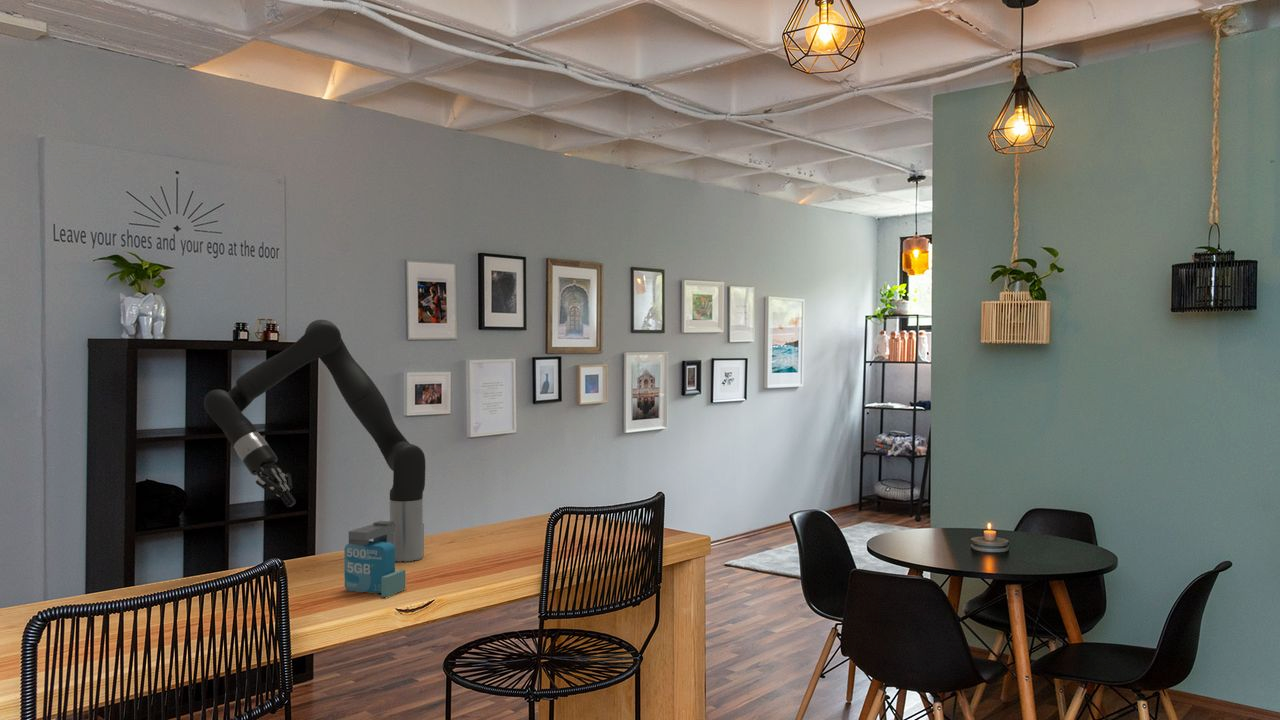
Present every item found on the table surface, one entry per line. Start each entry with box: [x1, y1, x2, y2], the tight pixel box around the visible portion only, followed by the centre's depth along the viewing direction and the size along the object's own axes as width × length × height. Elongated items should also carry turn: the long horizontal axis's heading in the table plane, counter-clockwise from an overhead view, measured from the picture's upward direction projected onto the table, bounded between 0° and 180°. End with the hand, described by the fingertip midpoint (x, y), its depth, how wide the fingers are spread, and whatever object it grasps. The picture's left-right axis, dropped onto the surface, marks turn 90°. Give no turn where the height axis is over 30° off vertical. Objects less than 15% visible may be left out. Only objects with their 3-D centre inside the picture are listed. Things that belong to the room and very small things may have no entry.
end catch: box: [380, 569, 406, 598], centre depth 232 cm, size 8×2×5 cm, turn 161°
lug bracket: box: [348, 520, 395, 545], centre depth 237 cm, size 14×7×16 cm, turn 161°
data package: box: [343, 540, 396, 594], centre depth 235 cm, size 12×4×12 cm, turn 71°
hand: (292, 504), depth 243 cm, fingers closed
